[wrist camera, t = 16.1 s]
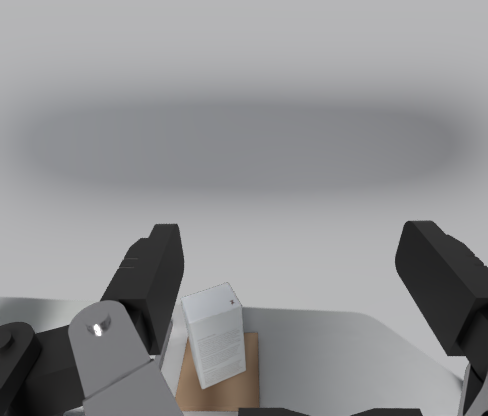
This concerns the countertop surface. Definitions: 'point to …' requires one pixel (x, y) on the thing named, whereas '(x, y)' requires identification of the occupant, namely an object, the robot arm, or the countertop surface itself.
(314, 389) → the countertop surface
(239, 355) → the skincare box
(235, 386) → the walnut board
